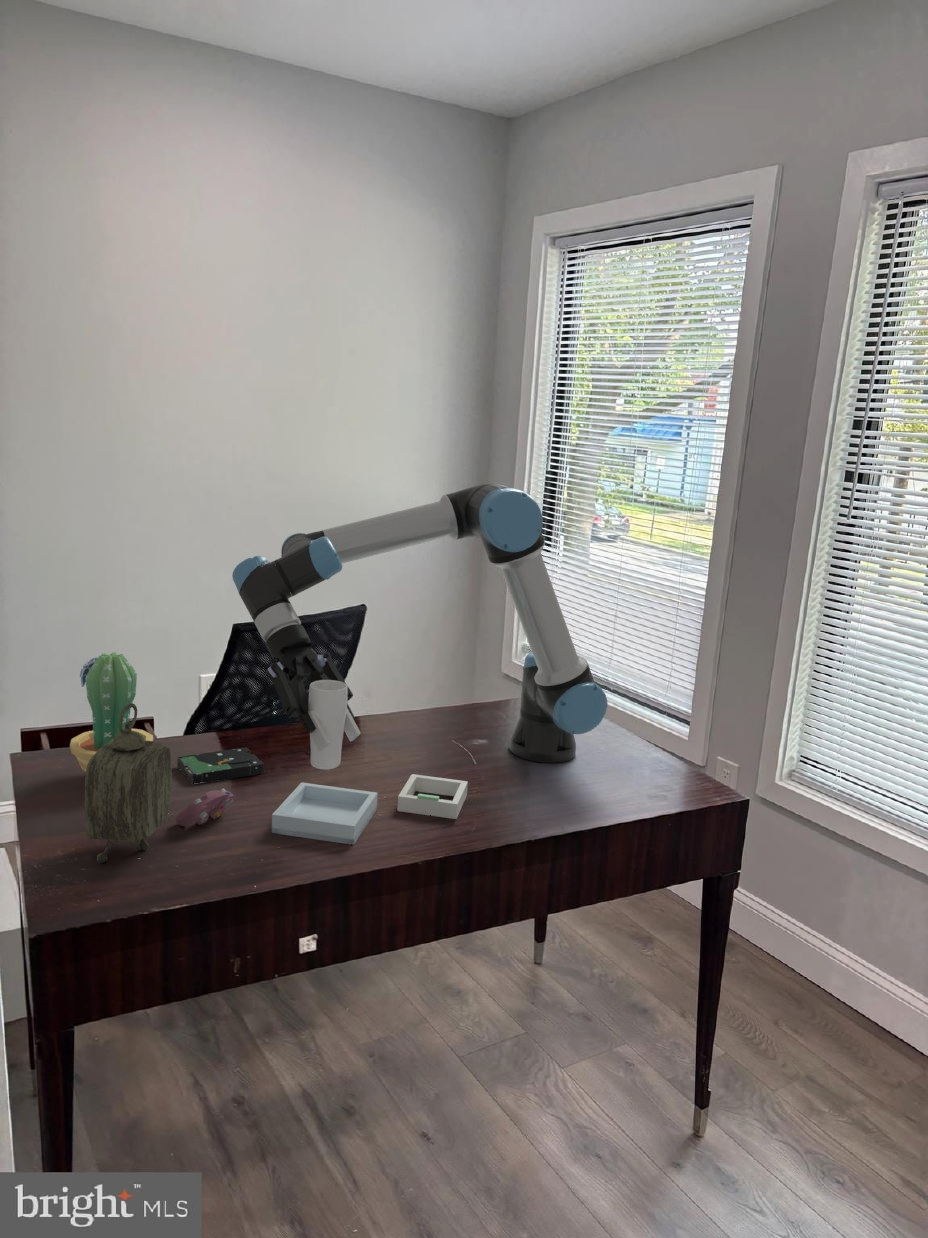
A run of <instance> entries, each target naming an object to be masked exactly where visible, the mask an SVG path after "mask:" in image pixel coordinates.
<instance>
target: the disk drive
mask: <svg viewBox="0 0 928 1238" xmlns="http://www.w3.org/2000/svg"><path fill="white" fill-rule="evenodd" d="M176 766H177V768H178V767H179V768H178V769H179V770H180V769H181V771H182V772H183V773H184V774H185V775H184V774H183V773H182V772H181V771H180V772H181V773H182V774H183V775H184V777H185V776H186V777H187V778H188V779H189V780H188V779H187V778H186V777H185V778H186V779H187V780H188V782H189V781H190V782H191V783H192V784H194V783H200V782H208V783H212V782H211V781H214V782H218V781H217V780H220V781H224V779H226V780H230V778H232V779H239V778H243V777H250V776H256V775H257V776H258V775H262V774H264V772H265V770H264V769H265V765H264V762H263V761H262V760H260V759H259V758H258V756H256V755H255V754H254V753H253V754H252V752H251V750H250V749H249V748H248V747H238V748H231V749H224V750H218V751H217V750H216V751H211V752H204V753H198V754H189V755H184V756H178V757H177V765H176ZM190 782H189V783H190ZM191 783H190V784H191ZM192 784H191V785H192Z"/></svg>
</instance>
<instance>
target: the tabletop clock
mask: <svg viewBox="0 0 928 1238" xmlns="http://www.w3.org/2000/svg"><path fill="white" fill-rule="evenodd" d="M130 708H131V709H133V711H134V712H133V713H134V714H133V718H132V720H131V721H130V720H129V721H128V722H126V723H125V729H122V720H123V717H124V715H125V713H126V712H127V711H128V710H129V709H130ZM131 709H130V710H131ZM137 717H138V708H137V705H136V704H135V703H134V702H133V703H131V704H128V705H127V706H126V707H125V708H124V709H123V710H122V712H121V714H120V718H119V730H120V732H121V733H118V734H117V735H116V736H115V738H114V739H112V740H110V741H109V742H107V743H106V744H105V745H103V746H102V747H101V748H100V749H99V750H98V751H97V752H96V753H95V754H94V755H93V756H92V758H91V759H90V761H89V763H88V765H87V769H86V773H85V778H84V815H85V829H86V834H87V838H88V839H92V840H102V841H107V844H106V845H105V848H104V850H103V852H100V853H98V854H97V856H96V860H97V862H98V863H99V864H104V863H106V862H107V860H108V855H107V854H108V852H109V850H110V849H111V848H112V847H113V845H114V844H115V842H127V843H137V842H139V843H138V848H139V850H141V851H146V850H148V848H149V842H148V841H147V840H145V839H146V838H148V837H150V836H152V835H153V834H154V832H156V830H157V829H158V828H159V827H160V826H161V824H162V823H163V822H164V820H165V819H166V817H167V816H168V814H169V811H170V810H171V809H170V808H171V801H172V755H171V754H172V753H171V748H170V747H168V746H167V745H166V744H164V743H163V742H161V741H156V740H153V741H144V738H143V737H142V735H141V734H139V733H138V732H136V731H132V729H133V728H134V726H135V724H136V722H137Z"/></svg>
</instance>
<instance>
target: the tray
mask: <svg viewBox="0 0 928 1238" xmlns="http://www.w3.org/2000/svg"><path fill="white" fill-rule="evenodd" d="M378 793H379V792H375V791H368V790H362V789H361V790H360V789H354V788H353V789H352V788H346V787H345V788H344V787H339V786H332V785H331V786H330V785H323V784H315V783H308V782H300V783H299V784H298V785H297V787H295V789H294V790H293V791H292V792H291V793H290V794H289V795H288V796H287V798H286V799H285V800H284V801H283V802H282V803H281V804H280V805H279V807H277V809H275V810H274V812H273V813H272V814H271V834H276V835H284V836H291V837H298V838H303V839H311V840H318V841H324V842H331V843H337V844H338V843H339V844H346V845H351V844H352V846H354V845H355V844H356V842H357V841H358V840H359V838H360V836H361V835H362V833H363V832H364V830H366V827H367V826H368V824H369V822H370V821H371V820H372V818H373V816H374V814H376V812H377V811H378Z"/></svg>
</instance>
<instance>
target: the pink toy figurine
mask: <svg viewBox="0 0 928 1238" xmlns="http://www.w3.org/2000/svg"><path fill="white" fill-rule="evenodd" d="M235 799H236V797H235V796H234V794H233V793H232V792H230V791H228V790H226V789H225V788H221V789H220V790H211V791H207V792H206V793H204V794H203V795H202V796H200V797H199V798H197V799H195V800H194V801H193V802H191V803H190V804H189V805H188V806H187V807H186V808H184V809H183V810H182V811H180V812H179V813H178V814H177V815H176V818H175V819H176V820H175V821H176V823H177V825H178V826H181V827H187V826H189V825H191V824H193V823H195V822H196V823H197V824H198V825H199V826H201V825H200V824H202V823H204V824H205V823H206V822H207V821H208V819H209V818H212V820H216V819H218V818H219V817H220V816H221V815H222V814H223V812H225V810H227V809H228V808H229V807H230V806H231V805H233V803H234V801H235ZM217 817H218V818H217ZM202 825H203V824H202Z"/></svg>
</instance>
